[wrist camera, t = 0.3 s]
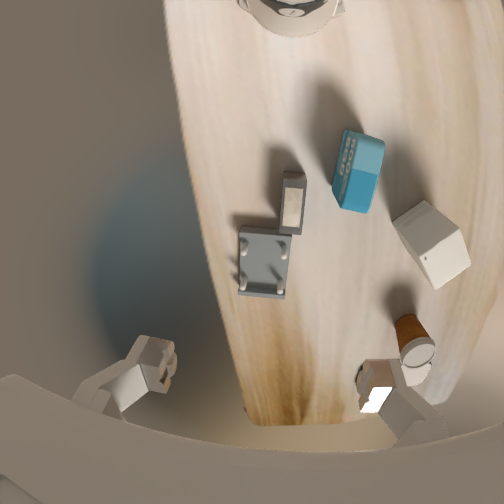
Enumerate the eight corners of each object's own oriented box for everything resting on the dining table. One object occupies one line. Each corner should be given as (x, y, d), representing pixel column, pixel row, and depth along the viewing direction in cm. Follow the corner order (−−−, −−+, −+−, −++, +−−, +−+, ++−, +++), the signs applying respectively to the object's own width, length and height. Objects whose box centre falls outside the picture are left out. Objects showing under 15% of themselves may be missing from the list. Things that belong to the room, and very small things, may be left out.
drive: (283, 171, 53) (283, 178, 48) (305, 172, 53) (307, 180, 47) (279, 220, 58) (278, 233, 52) (300, 222, 57) (301, 235, 52)
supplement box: (407, 253, 57) (433, 292, 44) (390, 221, 55) (417, 256, 41) (440, 231, 54) (472, 265, 41) (424, 198, 51) (460, 226, 38)
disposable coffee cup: (382, 325, 67) (393, 360, 56) (412, 302, 63) (428, 335, 52) (400, 342, 69) (411, 375, 58) (428, 321, 65) (443, 353, 54)
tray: (241, 225, 59) (237, 236, 54) (291, 230, 58) (291, 241, 53) (240, 286, 66) (236, 300, 61) (284, 290, 65) (284, 305, 60)
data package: (343, 128, 48) (358, 134, 37) (366, 134, 48) (387, 142, 37) (330, 189, 53) (341, 210, 43) (352, 194, 53) (368, 216, 43)
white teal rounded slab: (433, 356, 71) (434, 361, 69) (420, 380, 76) (421, 385, 75) (362, 361, 74) (363, 366, 72) (353, 385, 79) (354, 390, 77)
